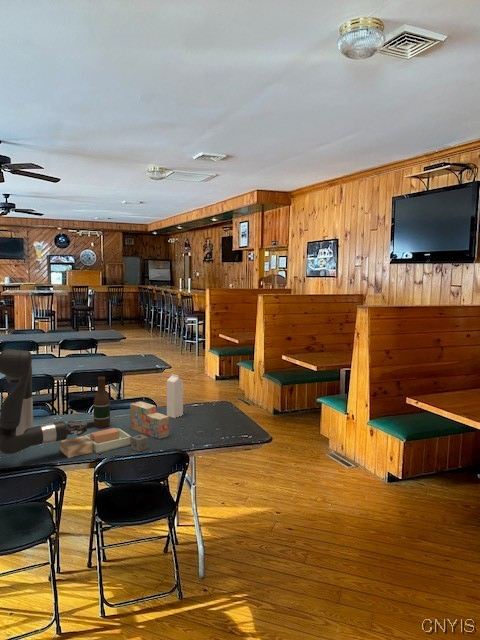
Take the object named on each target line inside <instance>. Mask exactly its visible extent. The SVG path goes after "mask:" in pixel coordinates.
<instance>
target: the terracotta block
mask: <svg viewBox="0 0 480 640" xmlns="http://www.w3.org/2000/svg"><path fill="white" fill-rule="evenodd" d="M89 434H90V438H91V439H92V440H93V441H94V442H96V443H97V444H99V443H104V442H108V441H112V440H117V439H119V431H118V430H117V429H116V428H115V427H112V428H107V429H103V430H99V431H94V432H90V433H89Z"/></svg>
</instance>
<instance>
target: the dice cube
mask: <svg viewBox="0 0 480 640" xmlns="http://www.w3.org/2000/svg"><path fill="white" fill-rule="evenodd" d="M130 447H131V449H132V450H134V451H136V452H142V451H144V450H148V449H149V437H148V436H146V435H145V434H142V433H141V434H137V435H135V436H132V437H131V445H130Z"/></svg>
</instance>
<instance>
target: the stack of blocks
mask: <svg viewBox="0 0 480 640" xmlns="http://www.w3.org/2000/svg"><path fill="white" fill-rule="evenodd" d="M129 409H130V410H129V413H130V415H129V416H130V429H132V430H133V431H136V432H139V433H141V434H143V435H147V436H149V437H152V438H154V439H157V440H161V439H163V438H166V437H167V438H168V437H169V436H170V417H169V416H167V414H163V413H159V412H157V405H154V404H151V403H148V402H144V401H140V400H139V401H136V402H133V403H132V402H131V403H130V404H129Z"/></svg>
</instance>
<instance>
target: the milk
mask: <svg viewBox="0 0 480 640" xmlns="http://www.w3.org/2000/svg"><path fill="white" fill-rule="evenodd" d="M182 415H183V416H184V380H183V379H182V378H180V376H179V374H176V373H170V377H169V378H168V379H166V416H169V418H172V419H176V417H177V418H180V417H182ZM179 416H180V417H179Z"/></svg>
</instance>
